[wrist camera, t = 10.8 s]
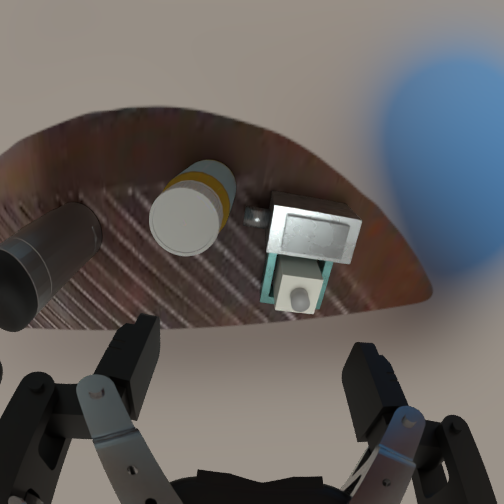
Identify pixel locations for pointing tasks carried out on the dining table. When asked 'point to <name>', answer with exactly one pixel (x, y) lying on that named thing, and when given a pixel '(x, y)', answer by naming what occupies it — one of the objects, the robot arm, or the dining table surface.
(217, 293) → the dining table surface
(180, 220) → the bottle
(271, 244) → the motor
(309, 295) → the white cube with peg
